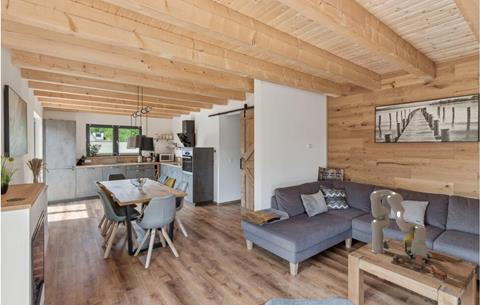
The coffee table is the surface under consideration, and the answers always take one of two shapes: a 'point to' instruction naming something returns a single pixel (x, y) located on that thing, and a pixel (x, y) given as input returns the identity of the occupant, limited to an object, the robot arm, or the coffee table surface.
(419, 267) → the salmon pink rectangular box
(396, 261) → the press base
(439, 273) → the bull figurine
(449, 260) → the coffee table surface
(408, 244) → the tea box
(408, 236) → the pitcher
